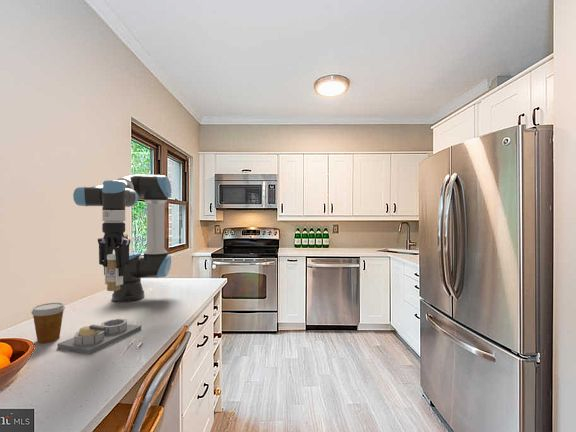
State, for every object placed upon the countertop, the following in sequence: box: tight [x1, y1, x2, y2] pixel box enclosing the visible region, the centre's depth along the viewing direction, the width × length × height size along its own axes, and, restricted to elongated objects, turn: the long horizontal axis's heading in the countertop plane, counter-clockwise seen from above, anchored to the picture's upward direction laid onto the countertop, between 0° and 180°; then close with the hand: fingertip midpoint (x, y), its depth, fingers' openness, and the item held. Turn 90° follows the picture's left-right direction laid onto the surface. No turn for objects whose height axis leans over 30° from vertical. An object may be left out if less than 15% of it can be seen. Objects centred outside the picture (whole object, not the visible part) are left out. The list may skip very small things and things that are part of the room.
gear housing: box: [57, 318, 142, 355], centre depth 113 cm, size 22×14×6 cm, turn 162°
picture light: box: [119, 337, 144, 357], centre depth 107 cm, size 14×4×2 cm, turn 7°
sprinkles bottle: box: [106, 253, 120, 292], centre depth 117 cm, size 5×5×13 cm
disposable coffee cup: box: [30, 302, 66, 344], centre depth 112 cm, size 10×10×12 cm
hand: (113, 284), depth 118 cm, fingers closed on sprinkles bottle, 4 cm apart
